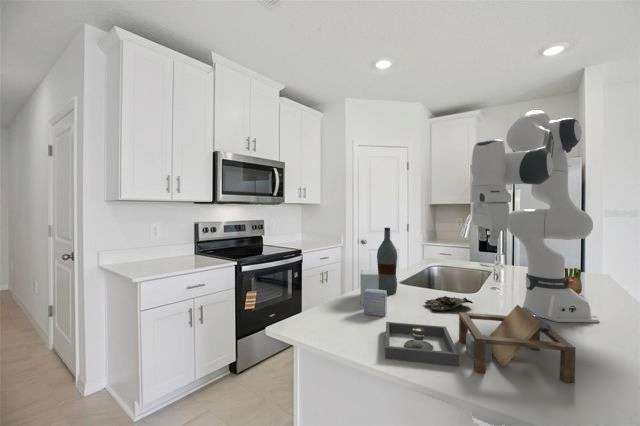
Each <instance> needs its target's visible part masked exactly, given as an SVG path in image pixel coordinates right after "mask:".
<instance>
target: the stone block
mask: <svg viewBox="0 0 640 426" xmlns="http://www.w3.org/2000/svg"><path fill="white" fill-rule="evenodd" d="M481 334H482V335H483V336H487V334H483V333H481ZM465 351H466V353H467V355H468V357H469V359H470V360H474V338H473V337H472V335H471V333H470V332H468V333H466V343H465ZM492 354H493V353H492V344H486V346H485V362H492V358H493V357H492V356H493V355H492Z"/></svg>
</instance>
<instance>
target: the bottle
mask: <svg viewBox="0 0 640 426" xmlns="http://www.w3.org/2000/svg"><path fill="white" fill-rule="evenodd" d="M383 229H384V233H383V235H384V238H383V239H384V240H383V241H382V242H381V244H380V245H379V247H378V249H377V251H376V260H377V261H376V262H377V271H378V275H379V290H386V291H387V296H392V295H395V294H396V293H397V290H398V278H397V267H398V266H397V265H398V252H397V247H396V246H395V244H394V243H393V242H392V240H391V227H384V228H383Z"/></svg>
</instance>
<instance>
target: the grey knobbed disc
mask: <svg viewBox="0 0 640 426" xmlns="http://www.w3.org/2000/svg"><path fill="white" fill-rule="evenodd" d="M412 333H413V335H412V338H413V339H410V340H407V341H405V342H404V347H405V348H414V349H424V350H434V345H432V344H431V343H430V342H428V341H425V340H424V338H425V336H424V334H425V332H424V329H422V328H419V327H414V328H413V330H412Z"/></svg>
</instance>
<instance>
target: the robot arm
mask: <svg viewBox="0 0 640 426" xmlns="http://www.w3.org/2000/svg"><path fill="white" fill-rule="evenodd" d="M582 132H583V131H582V126H581V124H580V122H579V120H577V119H576V118H573V117H567V118H561V119H558V120H551V119H550V117H549V114H547V113H546V112H545V111H542V110H537V109H536V110H531V111H529V112H528V111H527V112H526V113H524V114H523V115H521V116H520V117H519V118H518V119H517V120H516V121H514V123H513V124H512V125H511V126H510V127H509V129H508V130H507V133H506V137H505V138H506V143H507V146H508V148H510V150H511V151H512V152H510V151H509V152H506V148H505V142H504V140H502V139H498V138H497V139H490V140H485V141H484V140H483V141H479V142H477V143H475V144H474V146H473V150H472V154H471V174H472V181H471V183H470V184H471V185H470V186H471V187H470V188H471V191H470V193H471V194H470V195H471V198H470V199H471V200H470V202H471V203H472V202H473V204H472V215H471V221H472V224H473V225H475V226H477V232H478V240H479V241H482V242H486V241H487V238H488V237H487V236H488V235H487V233H486V232H487V231H486V229H487V230H489V234H490V236H489V238H488V244H489V245H490V246H493V247H495V246H496V247H497V246H499V245H498V244H499V238H500V235H501V231H507V230H508V232H509V233H510V234H511V235H512V236H514V237H515V238H516V239H517V240H518V241H519V242H520V243H521V244H522V246H523V247H524V249H525V253H526V258H527V259H526V260H527V262H526V263H527V273H526V274H525V288H526V291H525V297H524V301H523V304H522V307H521V308H523V307H525V308H528V309H529V310H530V311H532V312H533V313H534V314H536V315H537V316H538V317H540V318H541V319H542V318H543V319H546V320H549V321H553V322H556V323H557V322H558V323H600V318H599V317H598V316H597V315H595V314H594V313H593V312H591V307H590V304H589V302H588V301H587V299H585V298H584V297H583V296H581V295H580V294H577V293H576V292H575V291H573V290H572V289H571V288H570V286H569V285H571V286H576V285H577V282H576V281H574V280H569V279H567V278H565V264H566V263H565V260H566V259H565V257H564V255H563V254H562V253H561V252H560V251H559V250H556V249H554V248H553V247H550V246H548V245H547V244H546V243H545V239H546V240H547V239H549V240H550V239H551V240H561V241H562V240H565V241H570V240H574V241H575V240H582V239H586V238H587V237H589V235H590V234H591V232H592V231H593V230H594V223H593V220H592V217H591V216H590V215H589V213H587V212H586V211H584V210H582V209H581V208H579V207H578V206H577V205H576V204H575V203H574V202H573V200H572V199H571V196H570V193H569V165H568V164H569V163H568V157H567V153H570V152H571V151H572V149H573V148H575V147H576V146H577V145H578V143H579V142H580V140H581V136H582ZM507 185H531V189H530V190H531V196H532V197H533V198H534V199H535V200H537V201H540V202H541V203H544V204H547V205H548V206H549V208H545V209H544V208H543V209H541V208H537V209H536V208H525V209H518V210H512V211H511V212H510V204H509V203H511V202H512V194H511V193H509V191H508V189H507Z"/></svg>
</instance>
